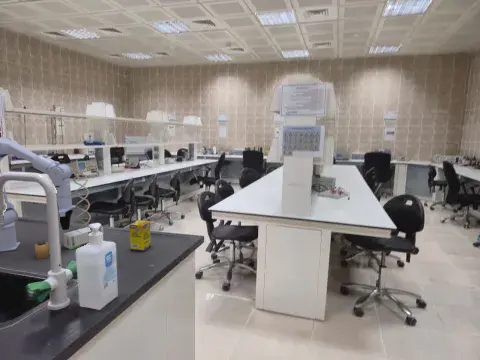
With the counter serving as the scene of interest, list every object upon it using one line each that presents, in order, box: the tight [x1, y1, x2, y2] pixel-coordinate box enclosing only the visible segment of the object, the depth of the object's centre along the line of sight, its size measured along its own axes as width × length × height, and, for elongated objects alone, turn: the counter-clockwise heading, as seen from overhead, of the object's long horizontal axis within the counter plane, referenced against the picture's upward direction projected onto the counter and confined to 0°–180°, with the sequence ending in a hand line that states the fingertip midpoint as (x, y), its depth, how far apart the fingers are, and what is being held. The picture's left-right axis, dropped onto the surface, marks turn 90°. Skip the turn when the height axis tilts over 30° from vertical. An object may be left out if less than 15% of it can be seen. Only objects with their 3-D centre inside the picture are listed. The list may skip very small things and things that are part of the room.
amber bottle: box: [34, 239, 50, 260], centre depth 118 cm, size 4×4×6 cm
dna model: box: [71, 167, 92, 230], centre depth 144 cm, size 7×6×30 cm
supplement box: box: [129, 219, 152, 253], centre depth 126 cm, size 6×6×11 cm
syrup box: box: [62, 226, 104, 250], centre depth 131 cm, size 6×6×14 cm
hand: (66, 229), depth 124 cm, fingers closed
